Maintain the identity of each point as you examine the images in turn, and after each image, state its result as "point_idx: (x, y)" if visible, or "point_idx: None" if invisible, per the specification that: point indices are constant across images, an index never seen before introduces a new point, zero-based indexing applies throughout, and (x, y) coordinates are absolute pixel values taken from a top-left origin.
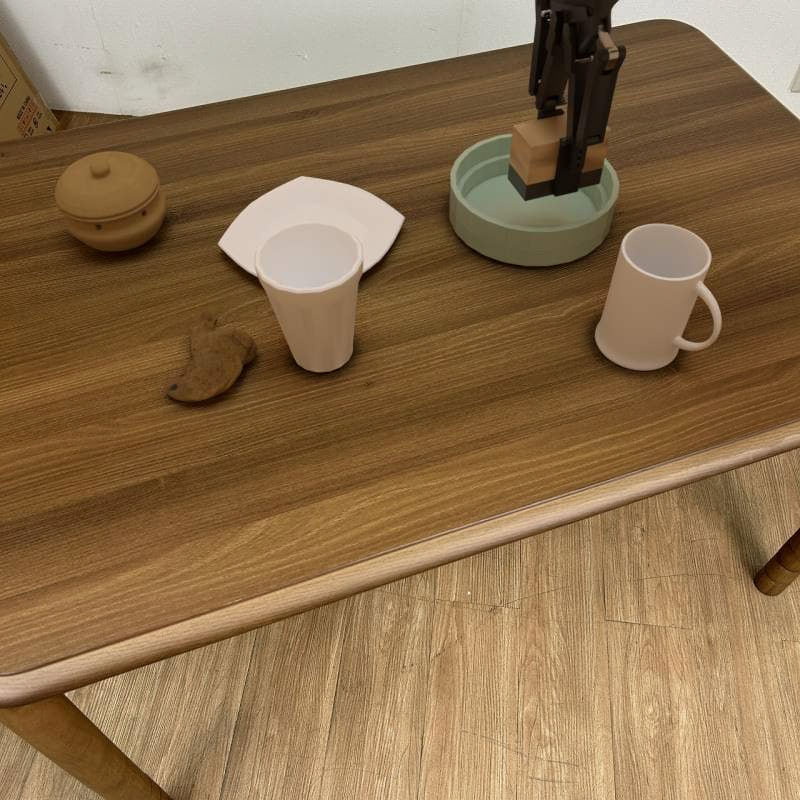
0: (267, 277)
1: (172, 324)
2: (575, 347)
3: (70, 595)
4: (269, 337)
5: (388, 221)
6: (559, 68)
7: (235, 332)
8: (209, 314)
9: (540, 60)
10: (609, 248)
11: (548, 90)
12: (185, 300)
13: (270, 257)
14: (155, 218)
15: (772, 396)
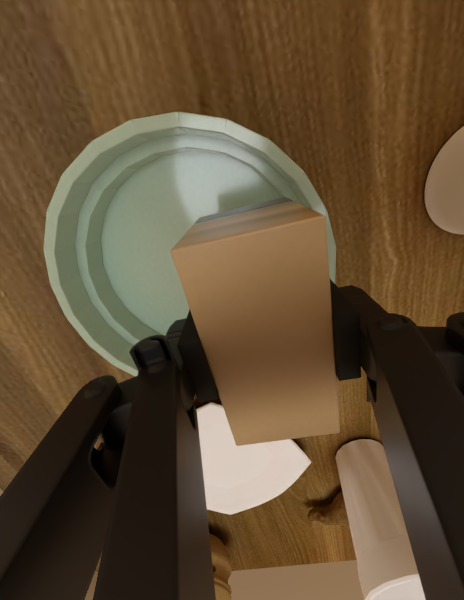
0: None
1: (297, 516)
2: (451, 259)
3: None
4: (329, 476)
5: (218, 417)
6: (199, 573)
7: None
8: (314, 518)
9: (82, 572)
10: (288, 155)
11: (198, 460)
12: (275, 512)
13: (383, 591)
14: (211, 555)
15: None
